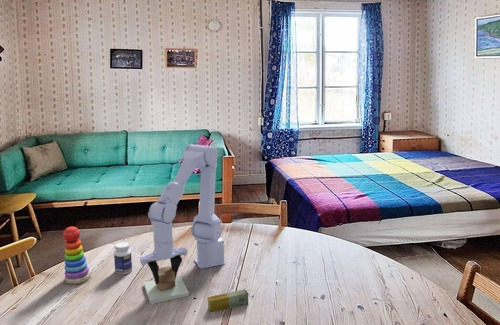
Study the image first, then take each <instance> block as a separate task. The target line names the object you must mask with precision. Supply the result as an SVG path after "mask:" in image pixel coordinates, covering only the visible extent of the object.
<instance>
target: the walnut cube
mask: <svg viewBox="0 0 500 325" xmlns="http://www.w3.org/2000/svg"><path fill="white" fill-rule="evenodd" d="M158 277H159V284H156V283H155V284H156V286H157V287H158V289H159V290H160V291H161V290H165V289H169V288H172V287H175V272H174V271H173V269H172V268H171V265H167V266H163V267H159V270H158Z"/></svg>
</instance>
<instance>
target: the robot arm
mask: <svg viewBox="0 0 500 325" xmlns="http://www.w3.org/2000/svg"><path fill="white" fill-rule="evenodd" d="M218 152H219V151H218V150H217V149H216V147H215V146H213V145H202V144H193V143H188V145H187V146H186V147H185V149H184V151H183V155H182V157H183V161H182V162H181V165H180V167H179V169H178V171H177V173H176V175H175V177H174V179H173V181H170V182H168V183H167V184H166V186H165V187H164V189H163V191H162V193H161V195H160V196H159V198H158V200H157V201H155V202H153V203H152V204H151V205H150V207H149V209H148V212H147V216H148V218H149V220H150V222H151V226H152V228H153V230H152V231H153V232H152V233H153V248H154V252H152V253H149V254H147V255H143V256H140V257H139V260H140V261H139V263H140V264H141V266H146V264H147V265H148V267H149V269H150V271H151V274H152V275H153V276H152V277H153V279H154V280H155V283H156V284H159V277H158V270H159V268H160V266H159V265H158V262H159V261H162V260H163V261H164V260H168V259H169V260H170V267H171V268H172V269H173V271H174V272H175V279H176V276H178V275H177V274H178V271H179V268H180V266H181V264H182V262H183V258H182V256H184V257H185V256H187V255H188V250H187V248H186V247H184V246H183V247H178V248H174V240H173V238H174V236H173V221H174V219H175V218H176V214H177V208H178V206H177V205H178V203H179V202H180V200H181V198H182V196H183V195H184V192H185V189H184V185H185V184H186V183H187V181H188V180H189V179H190V177H191V175H192V174H193V172H194V171H195V170H196V169H198V170H200V179H199V180H200V182H199V183H200V184H199V185H200V186H199V206H198V207H199V208H198V209H199V210H198V211H199V212H198V214H197V215H196V216H194V217H193V222H192V226H191V235H192V236H193V237H194V240H195V241H196V252H197V254H196V255H197V257H196V258H194V262H195V264H196V265H197V266H198V268H199V269H201V270H202V269H207V268H211V267H217V266H223V265H226V262H225V244H224V240H223V239H222V237H221V236H222V234H223V233H222V232H223V229H222V225H221V219H220V218H219V217H218V216H217V215H216V214H215V201H216V200H215V199H216V197H215V196H216V174H217V173H216V172H217V168H218V154H219V153H218Z"/></svg>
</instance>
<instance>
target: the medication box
mask: <svg viewBox="0 0 500 325" xmlns="http://www.w3.org/2000/svg"><path fill="white" fill-rule="evenodd" d="M244 305H245V306H248V305H249V293H248V291H247V289H245V288H243V289H240V290H236V291H231V292H226V293H221V294H216V295H213V296H208V297H207V310H208V309H209V310H208V312H209V313H210V312H212V313H216V312H217V313H218V312H221V310H222V311H226V310H231V309H235V308H240V307H243V306H244ZM239 306H240V307H239ZM230 308H231V309H230ZM225 309H226V310H225Z"/></svg>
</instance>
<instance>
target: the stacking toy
mask: <svg viewBox="0 0 500 325" xmlns="http://www.w3.org/2000/svg"><path fill="white" fill-rule="evenodd" d="M62 236H63V239H64V240H65V243H64V248H65V249H64V253H65V254H64V270H65V271H64V281H65V283H67V284H69V285H78V284H82V283H84V282H86V281H88V280H89V279H90V277H91V273H90V268H89V266H88V263H87V261H86V256H85V252H84V250H83V249H84V248H83V245H82V241H81V240H80V239H79V238H80V236H81V231H80V229H78V227H76V226H69V227H66V228H65V229H64V230H63V234H62Z"/></svg>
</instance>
